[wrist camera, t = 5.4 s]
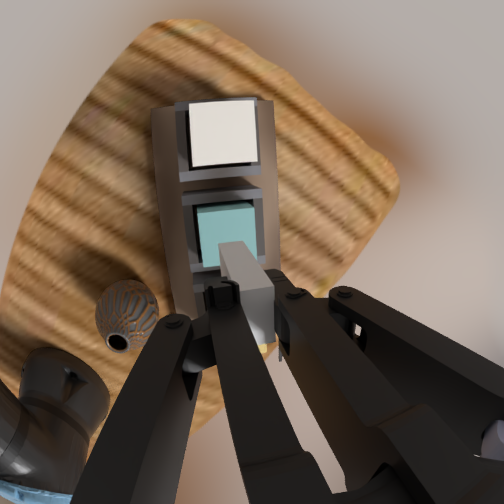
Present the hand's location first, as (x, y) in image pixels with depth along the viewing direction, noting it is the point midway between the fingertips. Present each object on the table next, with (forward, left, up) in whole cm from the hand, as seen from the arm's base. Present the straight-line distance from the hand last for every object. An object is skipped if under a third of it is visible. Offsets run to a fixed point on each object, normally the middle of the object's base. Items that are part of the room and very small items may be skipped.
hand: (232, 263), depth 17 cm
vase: (-11, -8, -13) cm, 19 cm away
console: (0, 0, -13) cm, 13 cm away
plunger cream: (0, +8, -8) cm, 12 cm away
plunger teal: (0, 0, -10) cm, 10 cm away
